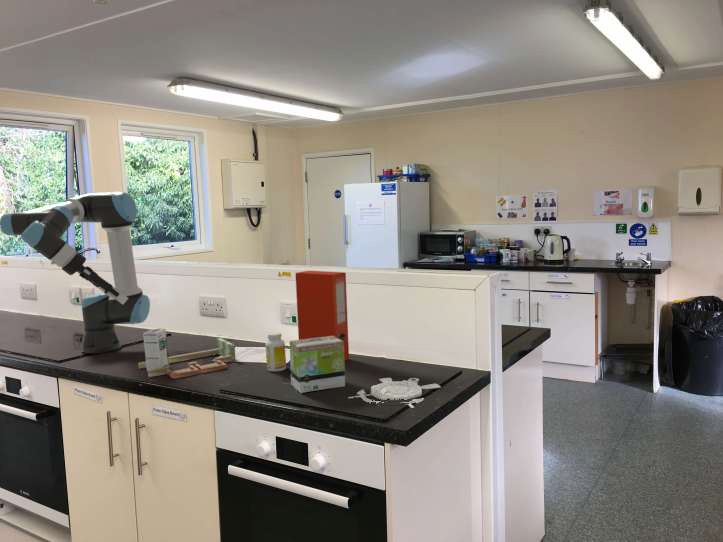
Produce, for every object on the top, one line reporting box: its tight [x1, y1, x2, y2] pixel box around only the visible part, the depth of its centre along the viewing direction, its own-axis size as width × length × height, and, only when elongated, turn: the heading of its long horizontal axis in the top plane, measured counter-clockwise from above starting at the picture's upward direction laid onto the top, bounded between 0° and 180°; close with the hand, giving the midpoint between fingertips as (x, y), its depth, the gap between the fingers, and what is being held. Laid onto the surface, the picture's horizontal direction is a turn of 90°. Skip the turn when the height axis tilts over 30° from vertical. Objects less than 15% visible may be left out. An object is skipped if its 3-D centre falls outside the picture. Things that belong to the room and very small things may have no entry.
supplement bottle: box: [265, 331, 287, 373], centre depth 209 cm, size 7×7×13 cm
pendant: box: [347, 377, 441, 409], centre depth 181 cm, size 21×28×1 cm
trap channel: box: [137, 337, 236, 380], centre depth 218 cm, size 23×32×6 cm
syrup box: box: [142, 328, 170, 373], centre depth 215 cm, size 6×6×14 cm
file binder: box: [295, 270, 350, 361], centre depth 220 cm, size 8×17×32 cm, turn 53°
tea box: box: [289, 336, 346, 394], centre depth 189 cm, size 15×10×15 cm
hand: (120, 299), depth 207 cm, fingers open, 13 cm apart
